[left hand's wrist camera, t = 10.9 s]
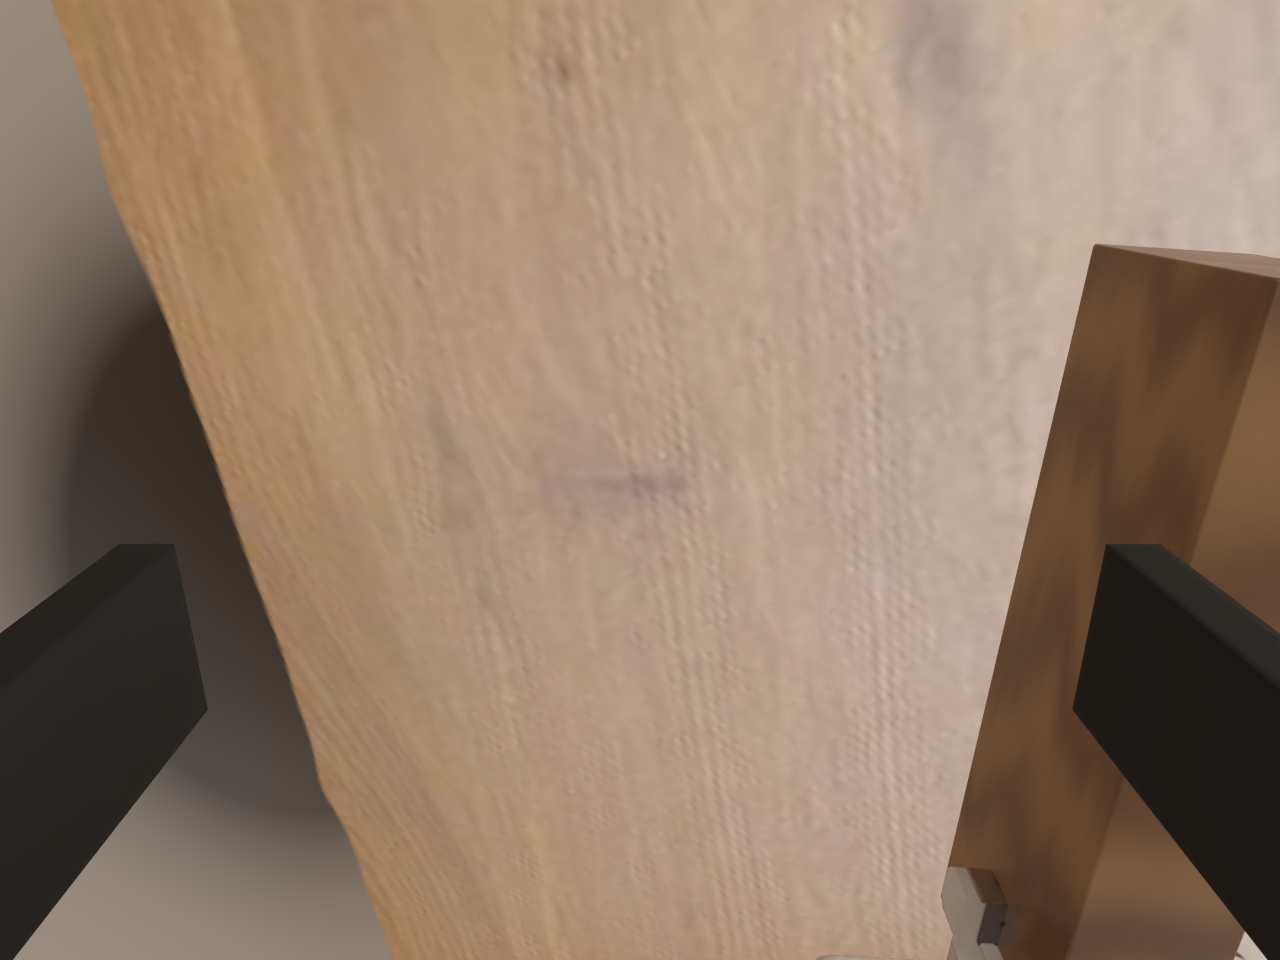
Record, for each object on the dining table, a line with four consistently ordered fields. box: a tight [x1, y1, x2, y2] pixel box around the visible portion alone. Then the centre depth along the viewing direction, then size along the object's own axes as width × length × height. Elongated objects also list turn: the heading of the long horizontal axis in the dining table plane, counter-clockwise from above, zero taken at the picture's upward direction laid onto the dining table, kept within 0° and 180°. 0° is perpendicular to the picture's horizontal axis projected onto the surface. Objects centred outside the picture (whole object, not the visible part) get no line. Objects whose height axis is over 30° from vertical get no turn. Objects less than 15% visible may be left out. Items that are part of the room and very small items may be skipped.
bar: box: [941, 244, 1280, 960], centre depth 26 cm, size 25×5×8 cm, turn 176°
